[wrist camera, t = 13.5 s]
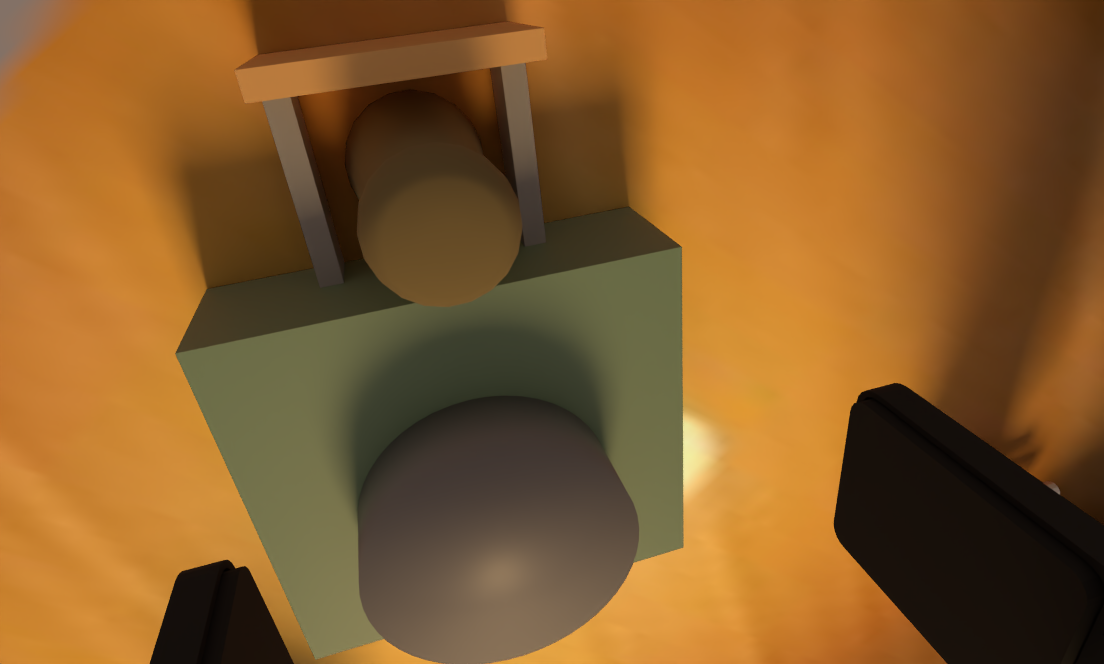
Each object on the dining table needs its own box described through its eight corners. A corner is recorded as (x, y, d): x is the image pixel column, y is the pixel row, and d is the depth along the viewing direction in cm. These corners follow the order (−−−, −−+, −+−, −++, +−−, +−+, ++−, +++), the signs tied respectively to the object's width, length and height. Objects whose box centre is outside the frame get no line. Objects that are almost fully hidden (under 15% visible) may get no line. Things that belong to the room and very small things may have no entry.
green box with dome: (619, 6, 28) (738, 11, 19) (641, 478, 41) (718, 605, 32) (119, 73, 24) (-9, 116, 16) (320, 568, 37) (311, 738, 29)
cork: (313, 149, 27) (293, 232, 18) (425, 59, 27) (465, 94, 17) (408, 253, 30) (433, 369, 21) (509, 173, 30) (582, 255, 20)
